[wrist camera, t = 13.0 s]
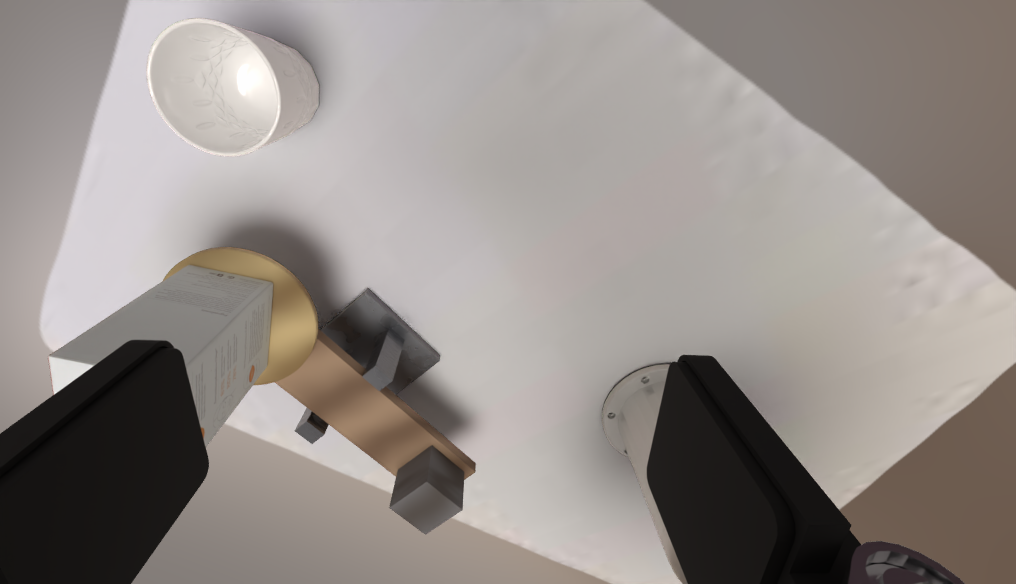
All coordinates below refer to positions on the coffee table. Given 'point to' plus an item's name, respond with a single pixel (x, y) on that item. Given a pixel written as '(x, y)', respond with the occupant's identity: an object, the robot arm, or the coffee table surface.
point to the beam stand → (374, 351)
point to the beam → (349, 395)
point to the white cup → (229, 86)
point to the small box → (188, 337)
